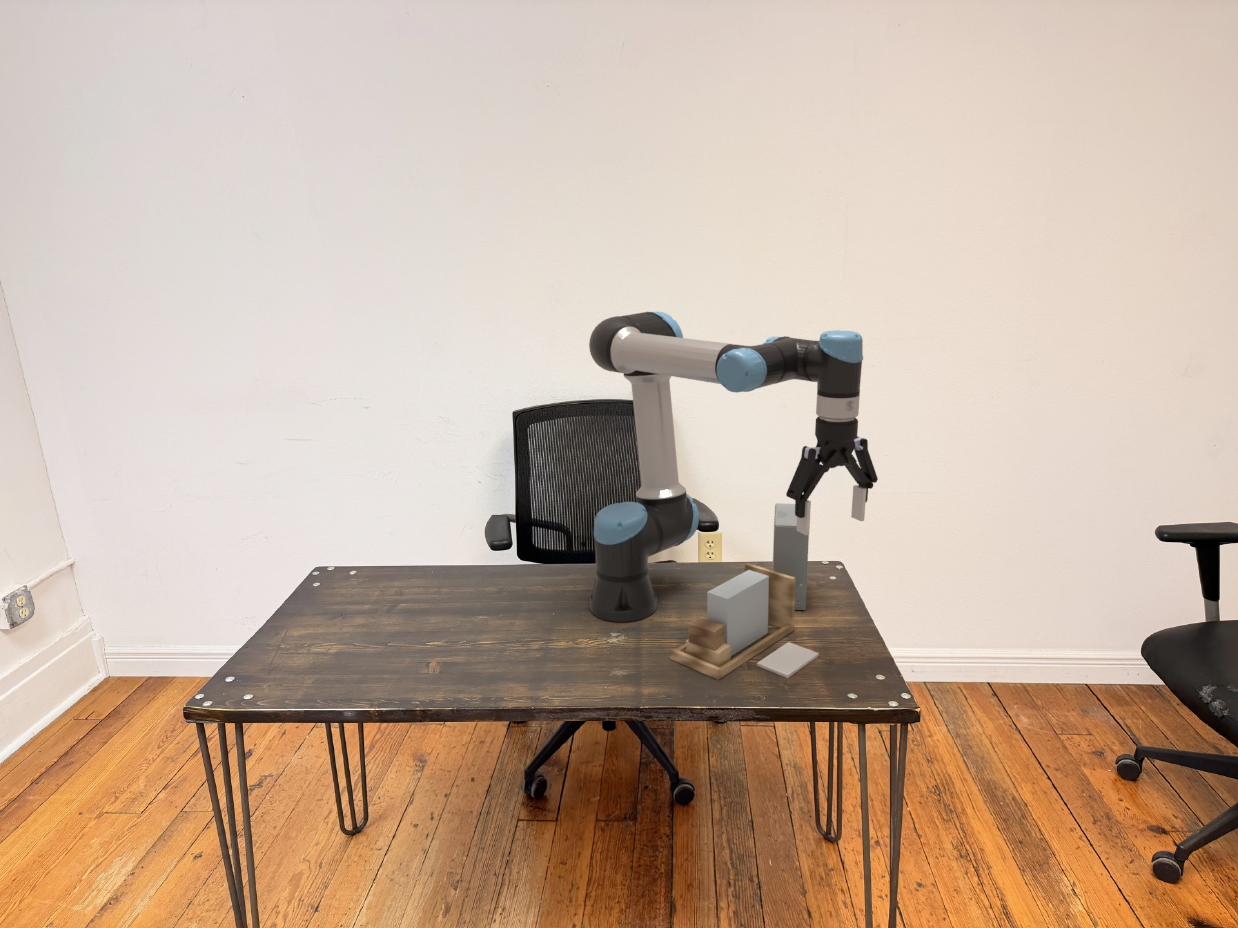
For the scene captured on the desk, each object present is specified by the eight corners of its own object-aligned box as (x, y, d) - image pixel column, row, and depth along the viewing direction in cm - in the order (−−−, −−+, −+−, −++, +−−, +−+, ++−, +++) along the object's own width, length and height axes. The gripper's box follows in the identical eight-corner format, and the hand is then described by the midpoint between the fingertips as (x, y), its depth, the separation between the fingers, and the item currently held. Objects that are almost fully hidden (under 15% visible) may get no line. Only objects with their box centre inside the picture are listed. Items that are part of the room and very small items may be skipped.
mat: (756, 665, 159) (756, 662, 159) (788, 644, 167) (788, 641, 167) (787, 678, 154) (787, 675, 154) (818, 655, 162) (818, 653, 162)
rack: (670, 658, 163) (669, 603, 160) (747, 613, 181) (747, 562, 177) (718, 679, 155) (718, 622, 151) (793, 629, 172) (795, 577, 169)
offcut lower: (686, 658, 163) (685, 640, 162) (698, 650, 166) (698, 632, 165) (718, 672, 158) (718, 653, 157) (730, 663, 161) (730, 645, 160)
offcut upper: (688, 642, 161) (688, 623, 160) (698, 634, 164) (698, 616, 163) (714, 650, 158) (714, 632, 157) (724, 643, 160) (724, 624, 159)
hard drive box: (806, 611, 180) (809, 526, 175) (771, 609, 182) (772, 525, 176) (805, 582, 195) (807, 503, 189) (772, 580, 196) (774, 502, 191)
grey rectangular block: (707, 650, 166) (707, 591, 162) (748, 625, 175) (748, 569, 172) (727, 658, 162) (727, 599, 159) (767, 632, 172) (768, 576, 168)
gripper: (796, 431, 141) (791, 545, 147) (902, 412, 152) (893, 519, 158) (769, 422, 147) (765, 532, 153) (872, 404, 158) (865, 507, 164)
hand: (830, 525), depth 156 cm, fingers open, 13 cm apart
